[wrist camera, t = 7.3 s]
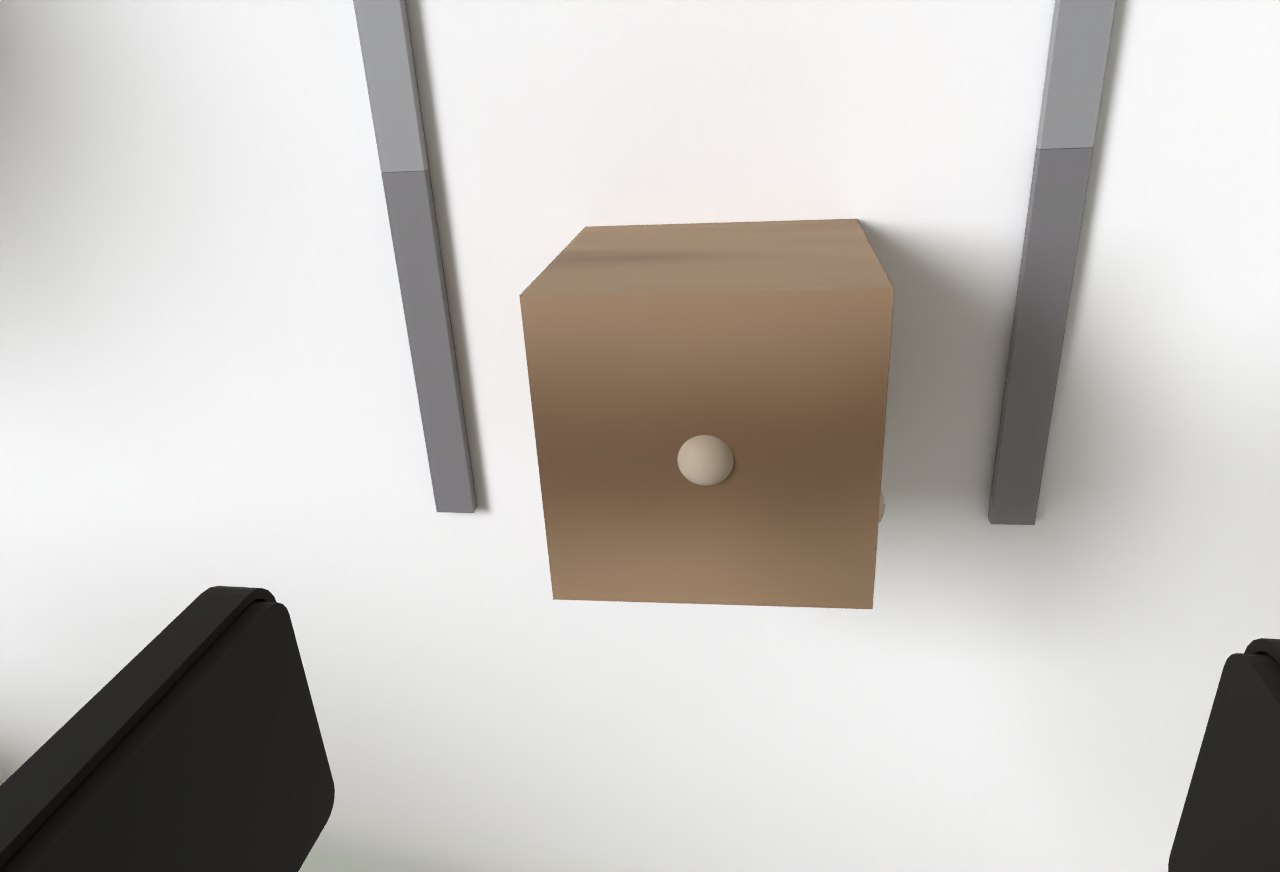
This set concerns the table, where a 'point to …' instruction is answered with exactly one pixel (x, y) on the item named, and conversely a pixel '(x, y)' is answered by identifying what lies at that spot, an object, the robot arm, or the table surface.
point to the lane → (1040, 289)
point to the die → (712, 412)
